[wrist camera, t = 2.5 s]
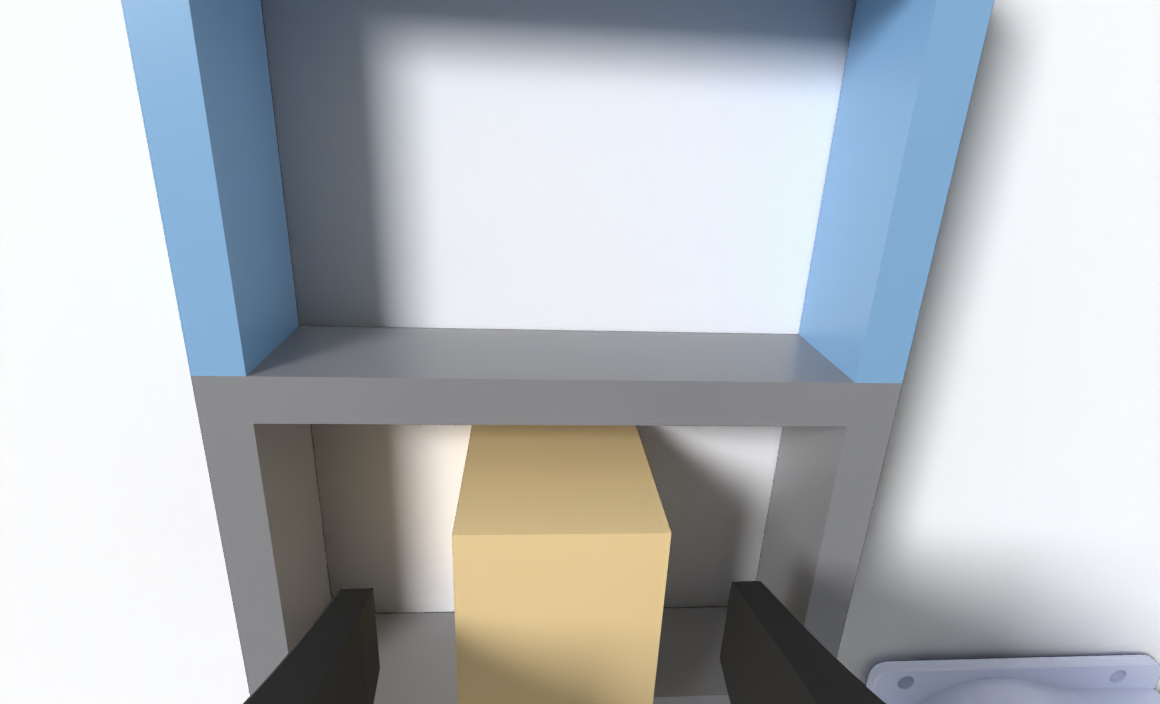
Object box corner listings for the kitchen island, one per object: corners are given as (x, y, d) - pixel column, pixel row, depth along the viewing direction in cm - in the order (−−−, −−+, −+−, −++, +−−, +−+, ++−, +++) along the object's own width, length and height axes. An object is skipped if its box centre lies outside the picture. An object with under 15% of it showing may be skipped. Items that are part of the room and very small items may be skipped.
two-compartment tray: (914, -61, 13) (1019, -106, 10) (779, 632, 19) (821, 721, 17) (191, -113, 12) (88, -178, 9) (299, 643, 18) (258, 740, 15)
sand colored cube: (631, 412, 17) (671, 533, 12) (619, 571, 18) (649, 730, 14) (474, 412, 16) (451, 535, 12) (477, 573, 18) (458, 736, 13)
